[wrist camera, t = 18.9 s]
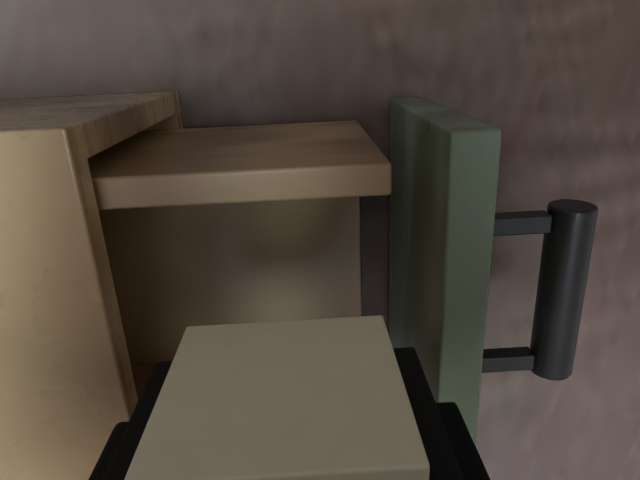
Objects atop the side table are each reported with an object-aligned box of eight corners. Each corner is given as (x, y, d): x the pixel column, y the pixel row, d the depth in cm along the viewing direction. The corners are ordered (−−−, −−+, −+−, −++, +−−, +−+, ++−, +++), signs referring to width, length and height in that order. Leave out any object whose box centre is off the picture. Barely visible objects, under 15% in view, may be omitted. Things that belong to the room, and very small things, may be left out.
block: (383, 314, 11) (430, 465, 7) (382, 465, 13) (422, 662, 9) (186, 325, 11) (119, 485, 7) (209, 476, 13) (167, 680, 9)
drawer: (532, 91, 19) (690, 119, 11) (505, 355, 23) (606, 506, 16) (65, 114, 19) (-100, 158, 11) (122, 378, 23) (33, 543, 15)
